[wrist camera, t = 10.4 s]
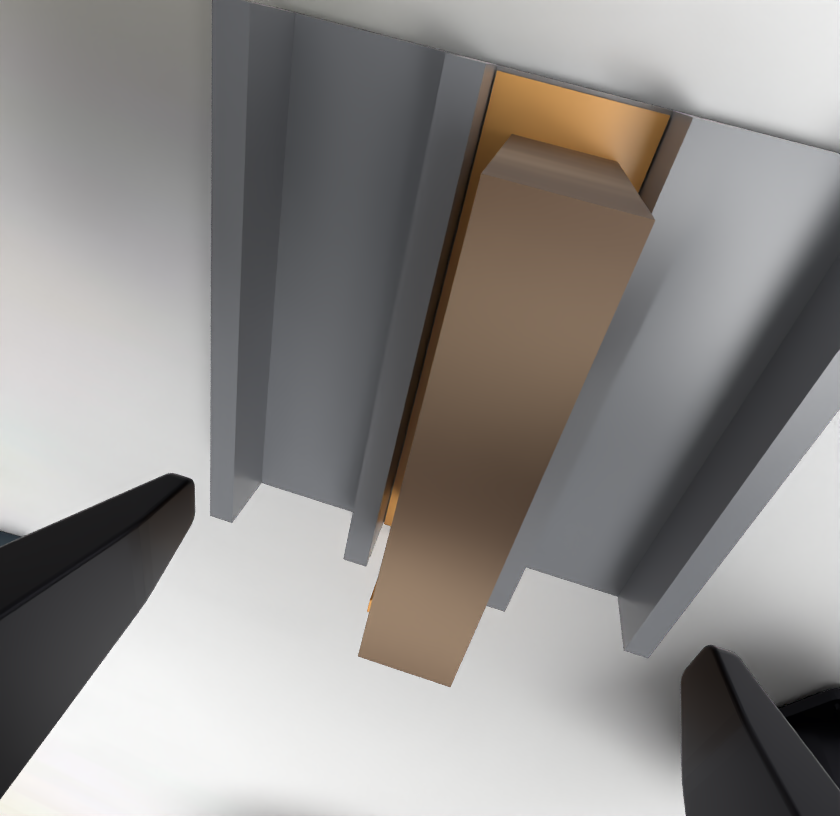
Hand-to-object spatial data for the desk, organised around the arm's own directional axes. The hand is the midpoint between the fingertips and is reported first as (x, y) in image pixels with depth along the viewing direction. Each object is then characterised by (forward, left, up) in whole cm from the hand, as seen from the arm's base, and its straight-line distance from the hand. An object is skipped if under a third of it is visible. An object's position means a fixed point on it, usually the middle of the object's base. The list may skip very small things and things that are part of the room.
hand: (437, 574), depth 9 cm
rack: (0, 0, -9) cm, 9 cm away
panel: (0, 0, -8) cm, 8 cm away
